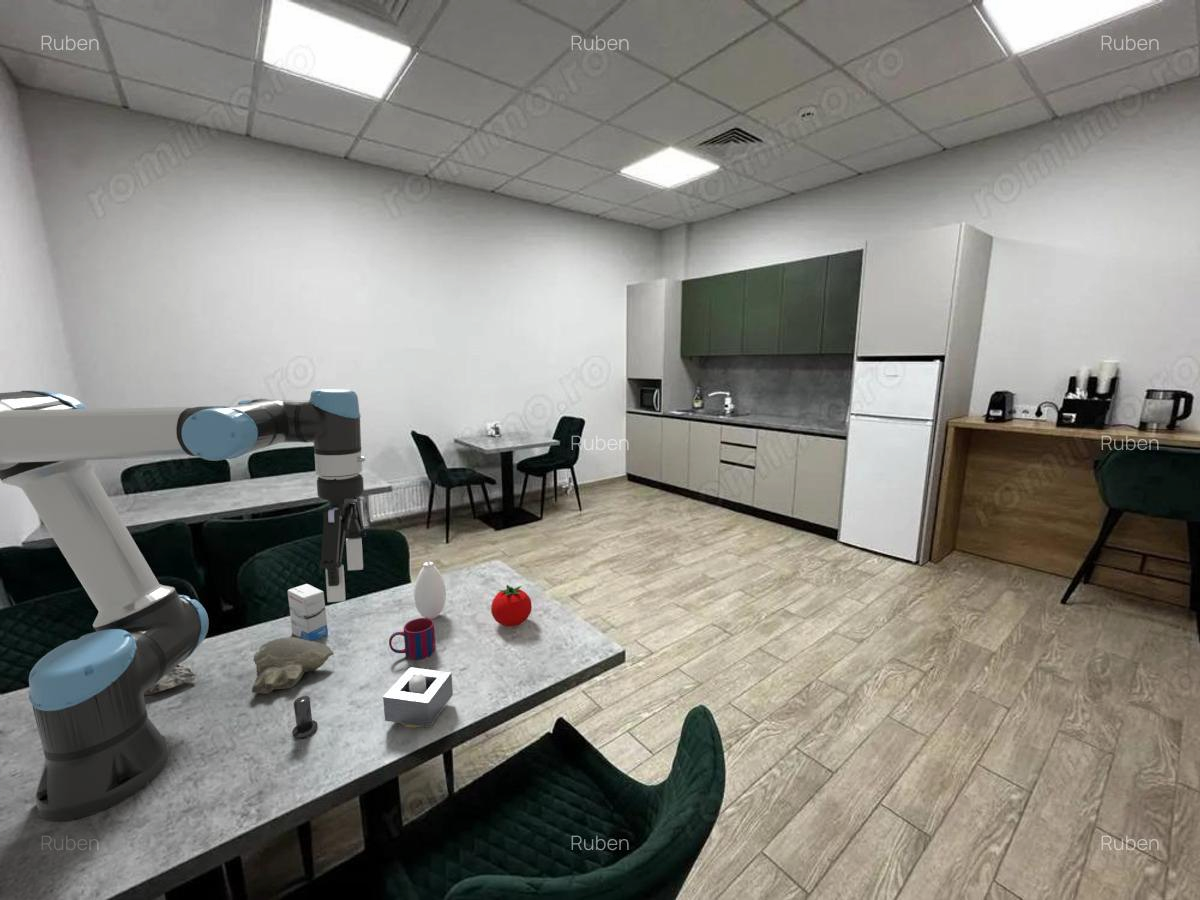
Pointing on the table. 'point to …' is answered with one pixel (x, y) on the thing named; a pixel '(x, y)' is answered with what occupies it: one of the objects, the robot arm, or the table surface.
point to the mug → (417, 639)
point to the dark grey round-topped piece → (303, 718)
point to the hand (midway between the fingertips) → (346, 584)
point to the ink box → (307, 612)
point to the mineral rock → (172, 679)
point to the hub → (417, 688)
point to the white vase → (429, 591)
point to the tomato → (511, 606)
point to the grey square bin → (418, 698)
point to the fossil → (287, 662)
